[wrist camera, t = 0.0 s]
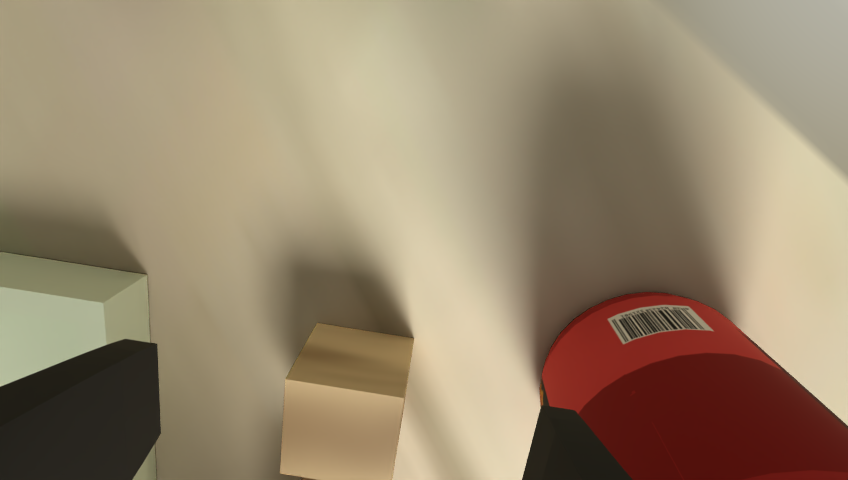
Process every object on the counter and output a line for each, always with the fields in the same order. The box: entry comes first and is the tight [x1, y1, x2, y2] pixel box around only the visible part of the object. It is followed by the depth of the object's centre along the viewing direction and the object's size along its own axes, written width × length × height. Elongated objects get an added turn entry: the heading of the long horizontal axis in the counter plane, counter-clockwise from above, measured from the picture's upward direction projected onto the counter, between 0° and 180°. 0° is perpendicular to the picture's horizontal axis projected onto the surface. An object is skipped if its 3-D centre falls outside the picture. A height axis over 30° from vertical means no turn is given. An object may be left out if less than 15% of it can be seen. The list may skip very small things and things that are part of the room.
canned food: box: [540, 292, 848, 480], centre depth 15 cm, size 8×8×11 cm
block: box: [280, 323, 414, 480], centre depth 19 cm, size 4×4×4 cm
